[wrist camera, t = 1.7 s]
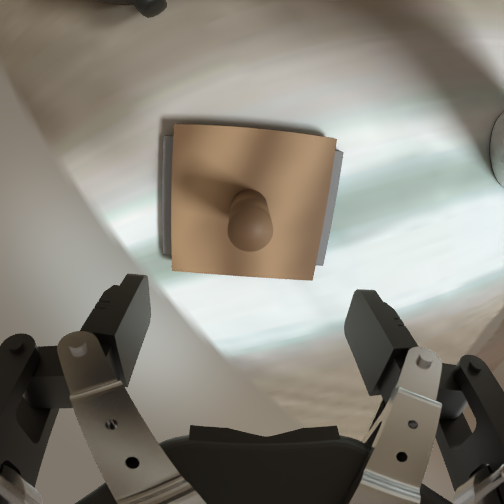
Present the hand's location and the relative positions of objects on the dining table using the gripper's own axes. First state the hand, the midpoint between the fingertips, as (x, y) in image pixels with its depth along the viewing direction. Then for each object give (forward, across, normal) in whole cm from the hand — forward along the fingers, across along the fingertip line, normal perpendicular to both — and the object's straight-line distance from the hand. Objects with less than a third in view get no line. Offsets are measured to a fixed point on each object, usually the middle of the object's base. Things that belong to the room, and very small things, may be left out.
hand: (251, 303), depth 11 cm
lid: (+14, 0, 0) cm, 14 cm away
